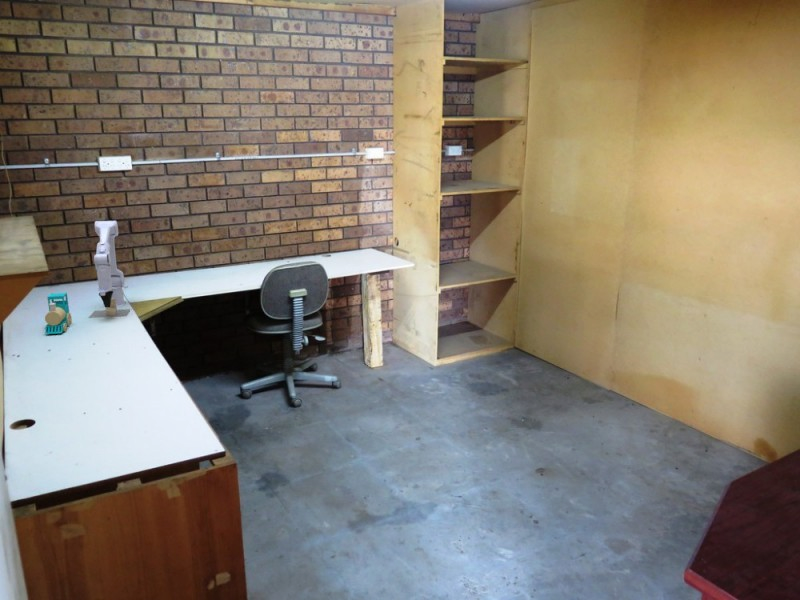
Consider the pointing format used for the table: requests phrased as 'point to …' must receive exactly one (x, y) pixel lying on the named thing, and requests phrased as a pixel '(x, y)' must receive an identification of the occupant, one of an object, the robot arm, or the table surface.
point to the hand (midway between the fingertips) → (107, 306)
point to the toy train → (57, 314)
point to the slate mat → (103, 314)
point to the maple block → (111, 308)
